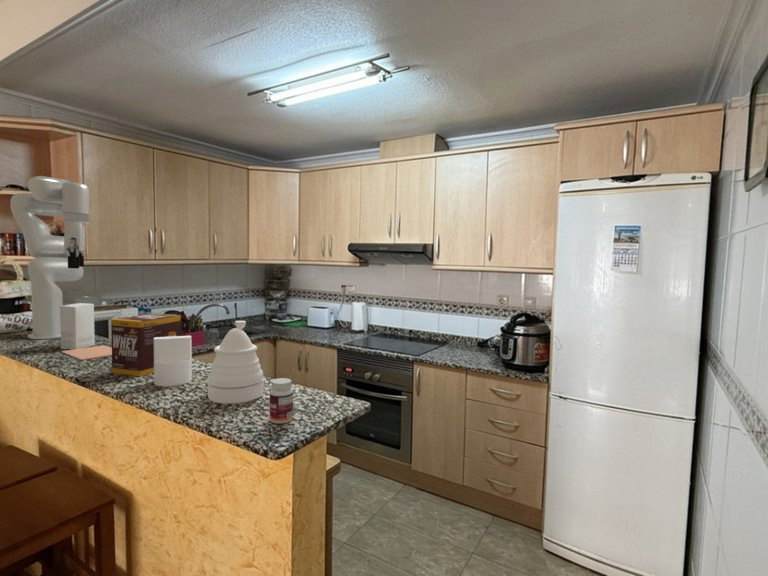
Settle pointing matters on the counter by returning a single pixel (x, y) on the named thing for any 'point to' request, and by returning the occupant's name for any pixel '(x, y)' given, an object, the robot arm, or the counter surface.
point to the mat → (90, 352)
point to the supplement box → (139, 341)
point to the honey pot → (235, 369)
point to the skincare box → (77, 326)
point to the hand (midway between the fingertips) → (76, 267)
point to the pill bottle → (281, 401)
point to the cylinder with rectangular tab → (172, 360)
